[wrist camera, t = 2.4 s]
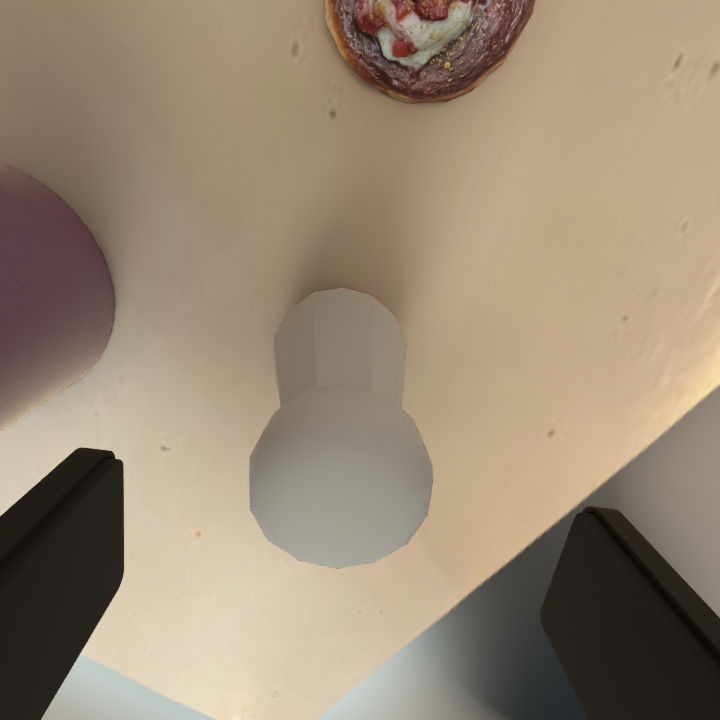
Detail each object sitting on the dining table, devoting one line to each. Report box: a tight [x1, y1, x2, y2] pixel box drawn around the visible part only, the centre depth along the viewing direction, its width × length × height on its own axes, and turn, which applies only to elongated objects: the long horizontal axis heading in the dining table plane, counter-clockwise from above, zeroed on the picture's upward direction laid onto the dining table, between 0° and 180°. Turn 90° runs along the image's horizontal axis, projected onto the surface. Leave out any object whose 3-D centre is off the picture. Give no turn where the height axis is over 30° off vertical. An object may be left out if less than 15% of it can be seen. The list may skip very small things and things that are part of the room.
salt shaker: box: [249, 288, 433, 569], centre depth 15 cm, size 6×6×13 cm
